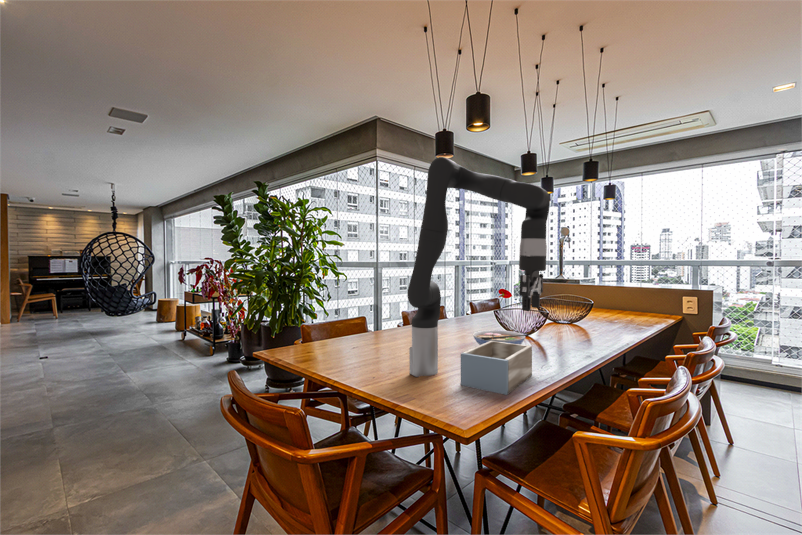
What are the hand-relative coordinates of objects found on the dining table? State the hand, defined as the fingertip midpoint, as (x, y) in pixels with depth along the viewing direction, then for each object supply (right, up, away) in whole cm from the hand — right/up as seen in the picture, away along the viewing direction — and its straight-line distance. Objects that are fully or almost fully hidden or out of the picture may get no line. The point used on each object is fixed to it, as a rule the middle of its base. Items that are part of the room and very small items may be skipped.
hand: (531, 309), depth 112 cm
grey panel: (-13, -25, +3) cm, 28 cm away
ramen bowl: (+5, -25, +56) cm, 61 cm away
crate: (-6, -26, +13) cm, 29 cm away
